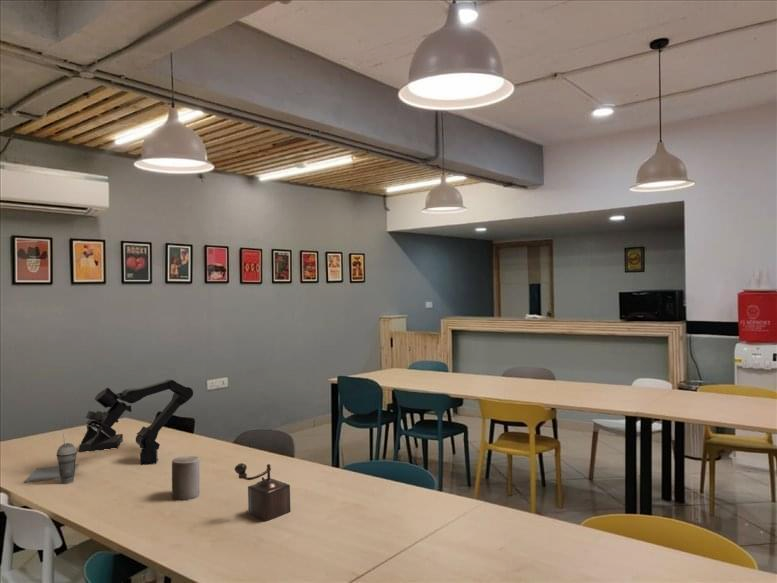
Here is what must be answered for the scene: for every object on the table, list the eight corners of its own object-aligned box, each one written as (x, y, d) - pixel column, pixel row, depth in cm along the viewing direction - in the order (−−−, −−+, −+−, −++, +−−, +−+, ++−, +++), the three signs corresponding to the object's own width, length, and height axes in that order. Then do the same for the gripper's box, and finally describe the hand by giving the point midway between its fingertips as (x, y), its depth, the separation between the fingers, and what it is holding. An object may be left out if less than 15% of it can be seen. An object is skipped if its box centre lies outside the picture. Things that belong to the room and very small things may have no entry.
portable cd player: (86, 444, 278) (86, 437, 278) (122, 441, 284) (122, 433, 284) (78, 453, 263) (78, 445, 263) (117, 449, 268) (117, 441, 268)
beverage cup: (70, 485, 215) (69, 434, 216) (52, 485, 216) (51, 435, 216) (81, 478, 223) (80, 430, 223) (64, 479, 223) (63, 430, 223)
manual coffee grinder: (271, 504, 190) (270, 453, 191) (291, 512, 183) (290, 458, 183) (233, 518, 179) (232, 464, 179) (252, 527, 171) (251, 470, 172)
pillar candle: (170, 502, 194) (170, 460, 194) (173, 492, 204) (173, 453, 204) (199, 499, 197) (198, 458, 197) (200, 490, 206) (200, 450, 206)
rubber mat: (78, 465, 242) (78, 463, 242) (69, 477, 225) (69, 475, 225) (37, 469, 237) (37, 468, 237) (24, 482, 220) (24, 481, 220)
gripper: (91, 400, 235) (62, 431, 227) (107, 405, 222) (78, 438, 214) (110, 415, 241) (83, 445, 232) (127, 421, 228) (99, 453, 220)
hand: (85, 445), depth 225 cm, fingers open, 9 cm apart
